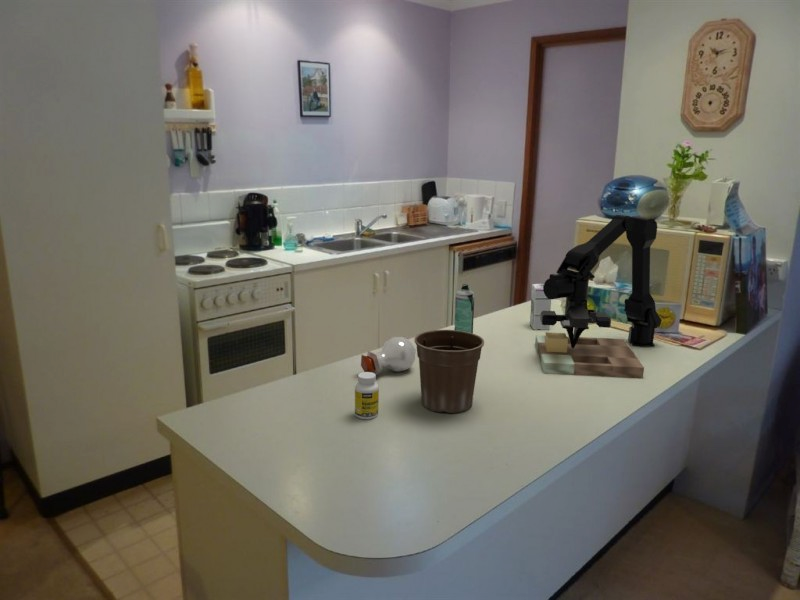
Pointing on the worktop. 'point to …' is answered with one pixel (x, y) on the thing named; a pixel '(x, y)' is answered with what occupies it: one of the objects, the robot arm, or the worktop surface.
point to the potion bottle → (390, 356)
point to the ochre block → (556, 342)
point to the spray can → (464, 309)
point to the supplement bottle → (366, 396)
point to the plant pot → (448, 368)
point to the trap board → (591, 358)
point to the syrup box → (538, 306)
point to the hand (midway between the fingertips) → (572, 347)
